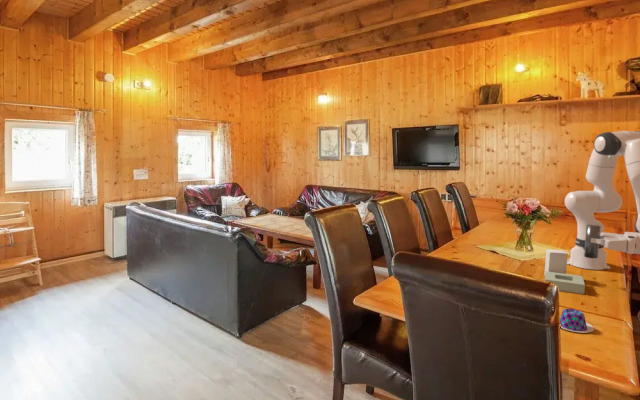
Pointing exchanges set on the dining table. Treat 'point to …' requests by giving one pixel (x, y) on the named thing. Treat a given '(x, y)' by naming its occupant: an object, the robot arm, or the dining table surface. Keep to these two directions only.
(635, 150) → the robot arm
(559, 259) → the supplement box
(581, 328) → the purple patterned hat
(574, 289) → the socket block
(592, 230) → the peg
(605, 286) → the dining table surface
